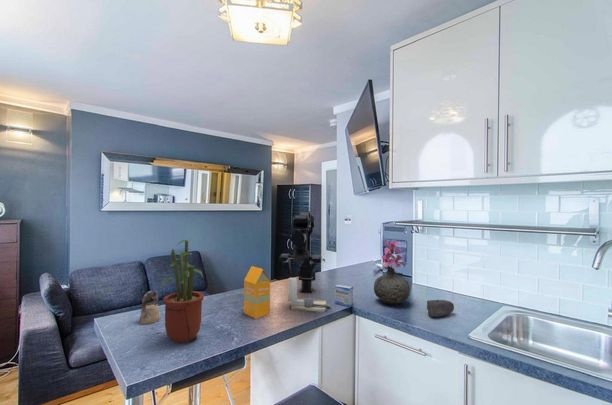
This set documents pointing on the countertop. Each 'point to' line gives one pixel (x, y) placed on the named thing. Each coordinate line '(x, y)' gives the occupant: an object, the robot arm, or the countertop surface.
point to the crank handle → (293, 295)
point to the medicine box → (343, 295)
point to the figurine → (149, 309)
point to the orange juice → (256, 293)
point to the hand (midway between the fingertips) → (300, 277)
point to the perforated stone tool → (439, 308)
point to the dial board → (314, 308)
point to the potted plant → (183, 302)
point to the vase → (391, 279)
